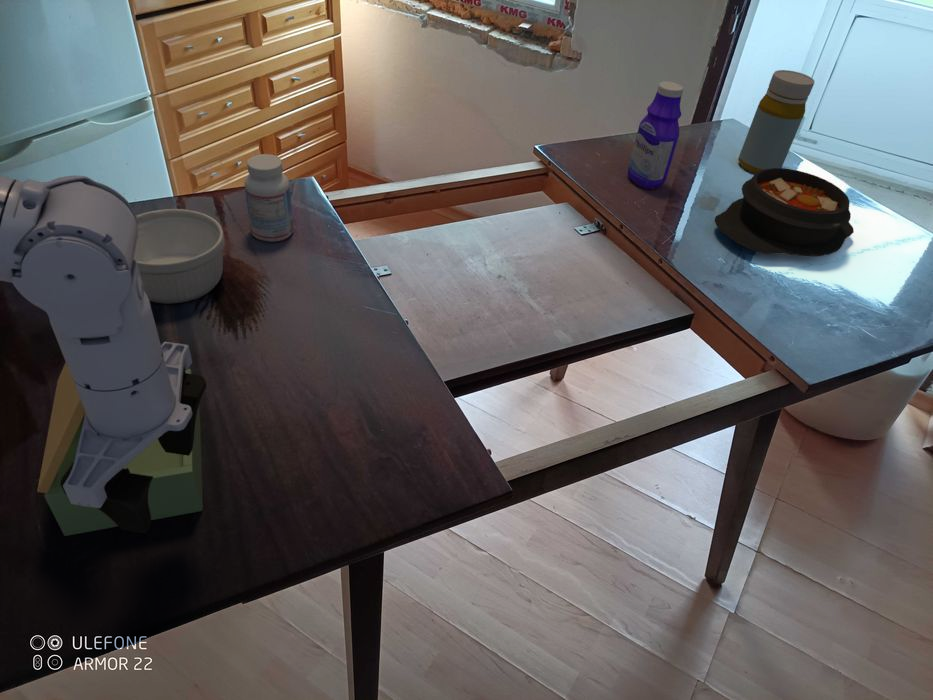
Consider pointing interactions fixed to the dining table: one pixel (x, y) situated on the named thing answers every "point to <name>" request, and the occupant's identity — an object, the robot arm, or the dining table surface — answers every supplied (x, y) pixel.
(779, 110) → the bottle
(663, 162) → the bottle
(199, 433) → the green open cubby
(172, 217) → the ramekin
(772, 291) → the dining table surface
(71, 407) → the yellow box lid
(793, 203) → the casserole
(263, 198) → the pill bottle
